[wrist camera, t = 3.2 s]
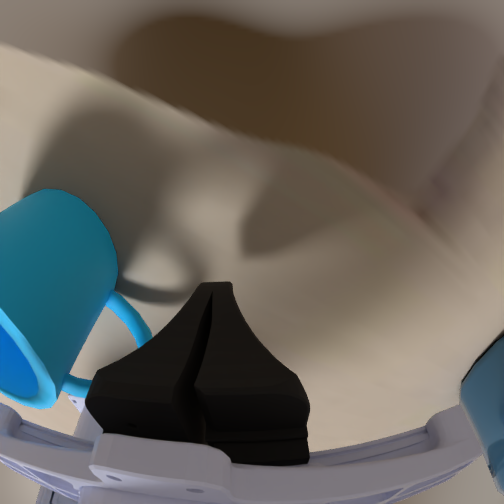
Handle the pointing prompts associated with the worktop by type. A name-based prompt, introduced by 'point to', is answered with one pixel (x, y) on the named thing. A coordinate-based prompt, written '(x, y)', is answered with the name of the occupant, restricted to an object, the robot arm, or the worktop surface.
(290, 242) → the worktop surface
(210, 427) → the robot arm
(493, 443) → the wine bottle
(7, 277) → the mug
